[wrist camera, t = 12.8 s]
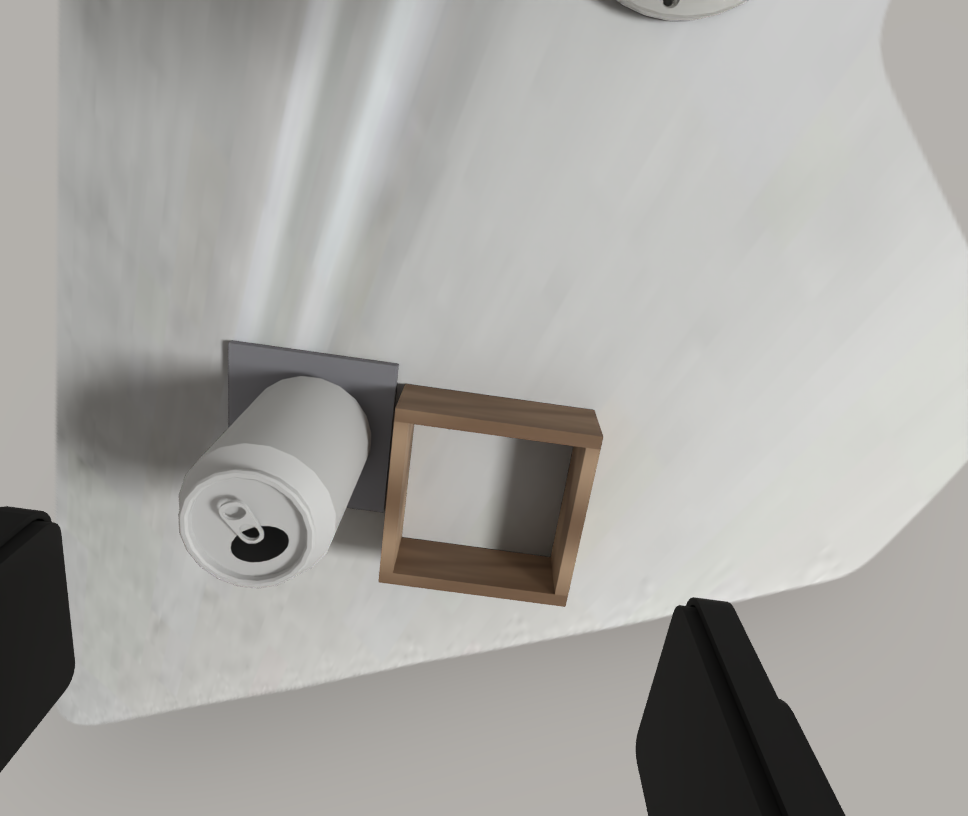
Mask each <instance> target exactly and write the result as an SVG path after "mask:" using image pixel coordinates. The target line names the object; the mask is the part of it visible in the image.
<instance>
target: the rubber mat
mask: <svg viewBox="0 0 968 816" xmlns="http://www.w3.org/2000/svg"><path fill="white" fill-rule="evenodd" d="M398 367H399V364H396V363H389V362H382V361H375V360H367V359H360V358H353V357H346V356H339V355H332V354H325V353H318V352H310V351H303V350H296V349H289V348H282V347H275V346H268V345H260V344H253V343H246V342H239V341H230V342H229V343H228V402H229V427H230V426H231V425H232V424H233V423H234V422H235V421H236V419H237V418H238V417H239V416H240V415H241V414H242V413H243V412H244V411H245V410H246V409H247V408H248V407H249V406H250V405H251V404H252V403H253V401H254V400H255V399H256V398H257V397H258V396H259V395H260V394H261V393H262V392H263V391H264V390H265V389H266V388H268V387H269V386H271V385H273V384H275V383H277V382H278V381H280V380H282V379H287V378H293V377H298V376H306V377H314V378H322V379H324V380H326V381H328V382H331V383H333V384H335V385H338V386H340V387H341V388H342V389H344V390H345V391H346V392H347V393H349V394H350V395H351V396H352V397H353V398H355V399H356V401H357V402H358V404H359V405H360V407H361V408H362V410H363V411H364V413H365V414H366V416H367V419H368V423H369V427H370V430H371V447H370V453H369V455H368V457H367V460H366V462H365V464H364V467H363V469H362V471H361V474H360V476H359V479H358V481H357V483H356V486H355V488H354V490H353V493H352V495H351V497H350V500H349V502H348V505H347V507H346V508H354V509H361V510H369V511H376V512H384V509H385V501H386V491H387V481H388V470H389V460H390V450H391V439H392V429H393V419H394V408H395V398H396V388H397V378H398Z"/></svg>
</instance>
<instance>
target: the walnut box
mask: <svg viewBox="0 0 968 816" xmlns="http://www.w3.org/2000/svg"><path fill="white" fill-rule="evenodd" d="M414 424H417V425H424V426H431V427H439V428H446V429H453V430H460V431H468V432H475V433H482V434H489V435H497V436H504V437H511V438H518V439H526V440H533V441H540V442H547V443H555V444H562V445H569V446H573V451H572V456H571V461H570V466H569V470H568V475H567V480H566V485H565V490H564V495H563V499H562V504H561V509H560V514H559V519H558V524H557V528H556V533H555V538H554V543H553V548H552V553H551V557H546V556H538V555H531V554H523V553H516V552H508V551H501V550H493V549H486V548H478V547H471V546H463V545H456V544H448V543H441V542H433V541H426V540H418V539H411V538H403V537H402V530H403V521H404V512H405V503H406V494H407V485H408V475H409V466H410V457H411V448H412V439H413V430H414ZM602 440H603V434H602V431H601V429H600V426H599V423H598V420H597V417H596V414H595V411H594V410H590V409H583V408H575V407H568V406H561V405H554V404H547V403H540V402H532V401H525V400H518V399H511V398H504V397H497V396H489V395H482V394H475V393H468V392H461V391H453V390H446V389H439V388H432V387H425V386H418V385H410V384H405V386H404V388H403V391H402V393H401V396H400V398H399V401H398V403H397V406H396V408H395V418H394V428H393V439H392V449H391V459H390V469H389V480H388V490H387V500H386V510H385V521H384V531H383V541H382V551H381V562H380V572H379V582H381V583H388V584H396V585H404V586H411V587H419V588H426V589H434V590H442V591H449V592H457V593H464V594H472V595H480V596H487V597H495V598H502V599H510V600H518V601H525V602H533V603H540V604H548V605H556V606H563V607H565V606H566V601H567V597H568V593H569V588H570V584H571V579H572V575H573V570H574V566H575V561H576V557H577V552H578V548H579V543H580V539H581V534H582V530H583V525H584V521H585V517H586V512H587V508H588V503H589V499H590V494H591V490H592V485H593V481H594V476H595V472H596V467H597V463H598V458H599V454H600V449H601V445H602Z"/></svg>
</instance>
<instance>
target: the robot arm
mask: <svg viewBox="0 0 968 816" xmlns="http://www.w3.org/2000/svg"><path fill="white" fill-rule="evenodd" d="M617 1H618V2H619V3H621V4H622V5H623V6H626V7H628V8H630V9H632V10H634V11H636V12H639V13H641V14H643V15H645V16H650V17H654V18H659V19H664V20H668V21H678V20H697V19H702V18H706V17H711V16H715V15H719V14H721V13H723V12H726V11H728V10H730V9H733V8H735V7H737V6H739V5H742V4H743V3H745V2H747V1H748V0H672V3H671V5H670V6H665V5H664V4H663V0H617ZM74 669H75V657H74V648H73V639H72V629H71V620H70V611H69V601H68V592H67V582H66V573H65V564H64V554H63V545H62V536H61V530H60V527H59V526H58V524H56V523H53V522H52V521H51V518H50V516H49V515H48V514H47V513H46V512H44V511H38V510H30V509H22V508H15V507H8V506H7V507H0V772H1V771H2V770H3V768H4V767H5V766H6V765H7V763H8V762H9V761H10V760H11V758H12V757H13V756H14V755H15V753H16V752H17V751H18V750H19V748H20V747H21V746H22V744H23V743H24V742H25V741H26V739H27V738H28V737H29V736H30V734H31V733H32V732H33V731H34V729H35V728H36V727H37V726H38V724H39V723H40V722H41V721H42V719H43V718H44V717H45V716H46V714H47V713H48V712H49V710H50V709H51V708H52V707H53V705H54V704H55V703H56V702H57V700H58V699H59V698H60V697H61V695H62V694H63V693H64V692H65V690H66V689H67V687H68V686H69V684H70V682H71V680H72V677H73V674H74ZM636 759H637V764H638V770H639V774H640V779H641V784H642V788H643V793H644V797H645V802H646V807H647V812H648V816H845V814H844V812H843V810H842V808H841V806H840V804H839V802H838V800H837V798H836V796H835V794H834V792H833V790H832V788H831V786H830V784H829V782H828V780H827V778H826V776H825V774H824V772H823V770H822V768H821V766H820V765H819V762H818V760H817V759H816V757H815V755H814V753H813V751H812V749H811V747H810V745H809V743H808V741H807V739H806V737H805V735H804V733H803V731H802V729H801V727H800V725H799V723H798V721H797V719H796V717H795V715H794V713H793V712H792V710H791V709H790V707H789V706H788V704H787V703H785V702H784V701H782V700H781V699H778V697H777V695H776V693H775V691H774V688H773V686H772V684H771V683H770V681H769V678H768V676H767V674H766V672H765V670H764V668H763V666H762V664H761V662H760V660H759V658H758V656H757V654H756V652H755V650H754V648H753V646H752V644H751V642H750V640H749V638H748V636H747V634H746V632H745V630H744V627H743V625H742V623H741V621H740V620H739V617H738V615H737V613H736V611H735V609H734V608H733V606H732V605H731V603H729V602H724V601H717V600H709V599H702V598H694V597H693V598H690V599H689V601H688V602H687V604H686V606H681V605H679V606H677V607H676V608H675V610H674V612H673V616H672V619H671V623H670V626H669V629H668V633H667V636H666V639H665V643H664V646H663V650H662V653H661V656H660V659H659V663H658V667H657V670H656V673H655V676H654V680H653V683H652V686H651V690H650V693H649V697H648V700H647V703H646V707H645V710H644V713H643V717H642V720H641V723H640V727H639V730H638V734H637V739H636Z"/></svg>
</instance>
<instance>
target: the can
mask: <svg viewBox="0 0 968 816" xmlns="http://www.w3.org/2000/svg"><path fill="white" fill-rule="evenodd" d="M370 447H371V430H370V427H369V423H368V419H367V416H366V414H365V413H364V411H363V410H362V408H361V407H360V405H359V404H358V402H357V401H356V399H355V398H353V397H352V396H351V395H350V394H349V393H347V392H346V391H345V390H344V389H342V388H341V387H340V386H338V385H335V384H333V383H331V382H328V381H326V380H324V379H322V378H314V377H306V376H298V377H293V378H287V379H282V380H280V381H278V382H277V383H275V384H273V385H271V386H269V387H268V388H266V389H265V390H264V391H263V392H262V393H261V394H260V395H259V396H258V397H257V398H256V399H255V400H254V401H253V403H252V404H251V405H250V406H249V407H248V408H247V409H246V410H245V411H244V412H243V413H242V414H241V415H240V416H239V417H238V418H237V419H236V421H235V422H234V423H233V424H232V425H231V426H230V427H229V428H228V429H227V430H226V431H225V432H224V433H223V434H222V435H221V436H220V437H219V438H218V440H217V441H216V442H215V443H214V444H213V445H212V446H211V447H210V448H209V449H208V450H207V451H206V452H205V453H204V454H203V455H202V456H201V458H200V459H199V460H198V461H197V462H196V463H195V464H194V466H193V467H192V468H191V469H190V470H189V471H188V473H187V474H186V475H185V478H184V481H183V484H182V487H181V490H180V493H179V510H180V511H179V514H178V515H179V533H180V535H181V538H182V540H183V542H184V545H185V547H186V550H187V551H188V552H189V554H190V555H191V556H192V557H193V558H194V560H195V561H196V562H197V563H198V564H199V566H200V567H202V568H203V569H205V570H206V571H207V572H209V573H210V574H212V575H213V576H214V577H216V578H217V579H220V580H223V581H225V582H228V583H231V584H233V585H236V586H241V587H250V588H264V587H270V586H277V585H279V584H282V583H284V582H286V581H288V580H290V579H292V578H294V577H295V576H297V575H299V574H301V573H303V572H305V571H307V570H309V569H311V568H312V567H313V566H314V565H315V564H316V563H317V562H318V561H319V560H320V559H321V558H322V557H323V556H324V555H325V554H326V553H327V551H328V549H329V547H330V544H331V542H332V540H333V537H334V535H335V533H336V531H337V528H338V526H339V523H340V521H341V519H342V516H343V514H344V512H345V509H346V507H347V505H348V502H349V500H350V497H351V495H352V493H353V490H354V488H355V486H356V483H357V481H358V479H359V476H360V474H361V471H362V469H363V467H364V464H365V462H366V460H367V457H368V455H369V453H370Z"/></svg>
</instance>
